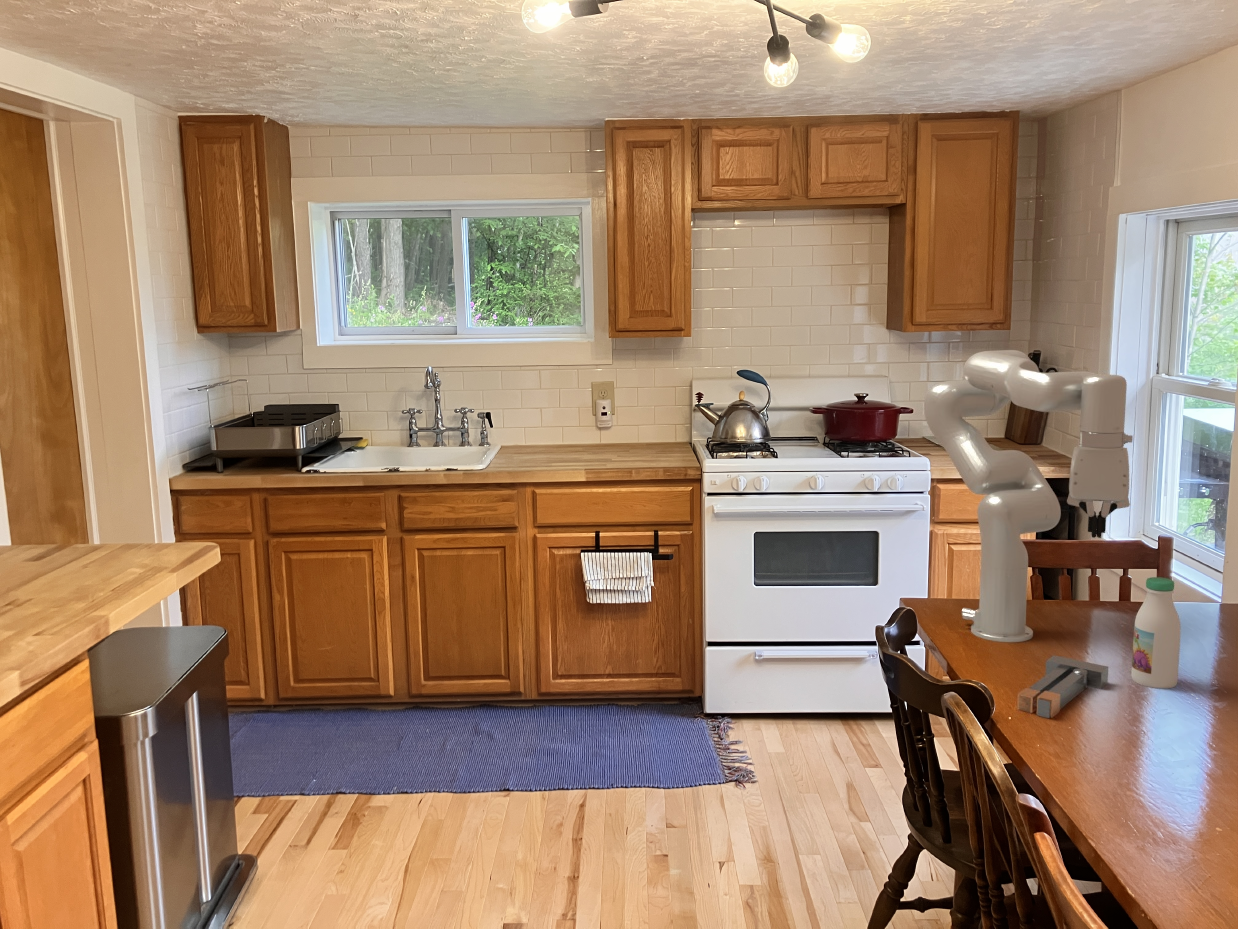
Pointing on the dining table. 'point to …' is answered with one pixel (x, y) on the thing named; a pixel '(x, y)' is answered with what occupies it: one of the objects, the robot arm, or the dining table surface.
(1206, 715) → the dining table surface
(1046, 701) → the arm
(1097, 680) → the tongs base
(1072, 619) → the dining table surface
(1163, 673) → the milk bottle
